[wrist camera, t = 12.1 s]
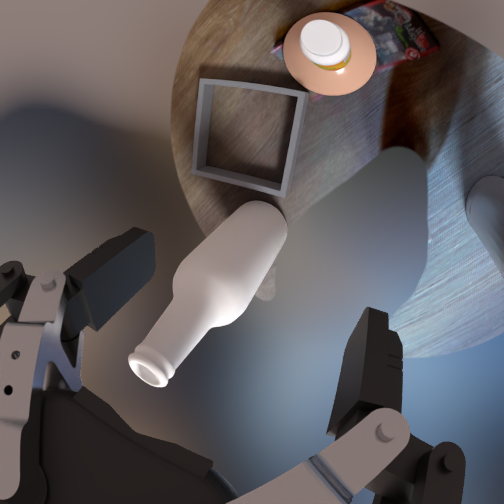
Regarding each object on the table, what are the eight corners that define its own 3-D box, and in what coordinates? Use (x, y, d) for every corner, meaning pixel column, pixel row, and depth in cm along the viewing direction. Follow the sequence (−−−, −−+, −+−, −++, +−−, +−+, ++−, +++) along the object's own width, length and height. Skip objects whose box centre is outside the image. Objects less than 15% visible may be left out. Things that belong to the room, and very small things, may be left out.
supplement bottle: (304, 63, 31) (286, 51, 23) (316, 28, 28) (301, 7, 20) (344, 77, 30) (339, 69, 22) (356, 42, 27) (355, 23, 19)
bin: (309, 92, 33) (305, 92, 31) (290, 191, 41) (284, 198, 39) (210, 78, 37) (200, 78, 34) (201, 169, 45) (191, 174, 42)
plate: (381, 25, 25) (382, 24, 24) (367, 106, 32) (367, 106, 31) (291, 8, 28) (290, 6, 27) (278, 85, 34) (276, 85, 34)
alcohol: (278, 192, 42) (152, 338, 18) (295, 245, 45) (208, 413, 21) (227, 205, 46) (90, 331, 22) (246, 253, 50) (140, 396, 25)
